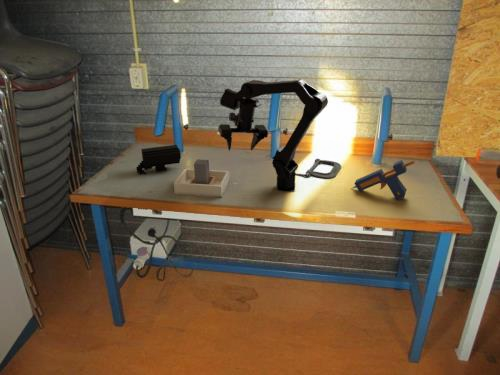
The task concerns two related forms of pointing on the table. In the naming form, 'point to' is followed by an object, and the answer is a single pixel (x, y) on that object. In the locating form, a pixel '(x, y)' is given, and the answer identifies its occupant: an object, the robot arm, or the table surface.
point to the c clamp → (323, 175)
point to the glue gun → (386, 179)
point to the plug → (202, 172)
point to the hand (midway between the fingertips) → (240, 149)
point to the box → (214, 189)
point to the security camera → (159, 158)
